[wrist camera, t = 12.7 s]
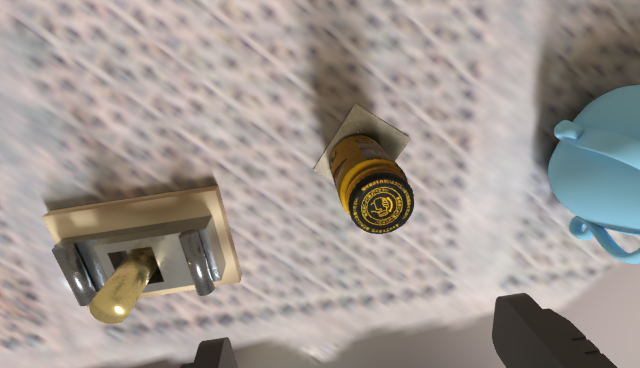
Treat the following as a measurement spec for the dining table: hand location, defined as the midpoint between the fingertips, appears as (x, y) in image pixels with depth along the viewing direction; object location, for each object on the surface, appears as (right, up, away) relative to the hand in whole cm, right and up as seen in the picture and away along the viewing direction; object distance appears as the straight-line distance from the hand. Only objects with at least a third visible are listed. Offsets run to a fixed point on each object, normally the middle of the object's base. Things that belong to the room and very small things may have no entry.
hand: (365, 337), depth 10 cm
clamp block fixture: (-21, -2, +29) cm, 36 cm away
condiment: (+3, +8, +27) cm, 29 cm away
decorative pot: (+31, +8, +30) cm, 44 cm away
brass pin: (-20, -3, +28) cm, 34 cm away
